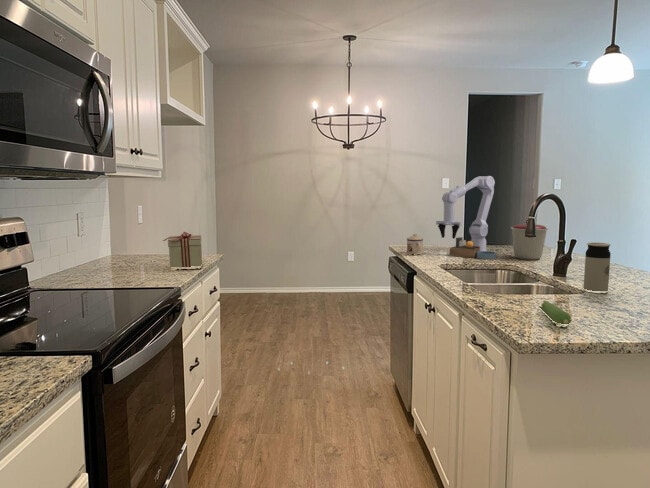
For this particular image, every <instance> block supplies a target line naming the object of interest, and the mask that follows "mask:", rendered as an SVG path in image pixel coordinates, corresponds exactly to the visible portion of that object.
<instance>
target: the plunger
mask: <svg viewBox="0 0 650 488" xmlns="http://www.w3.org/2000/svg"><path fill="white" fill-rule="evenodd" d="M466 243H467V240H466V239H463V237H461V236H458V237H455V246H456V247H457V248H459V246H461V247H466Z"/></svg>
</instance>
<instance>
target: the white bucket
mask: <svg viewBox="0 0 650 488" xmlns="http://www.w3.org/2000/svg"><path fill="white" fill-rule="evenodd" d="M527 221H528V219H526V220H525V223H521V224H515V225H512V226H511V227H510V229H511V230H512V231H511V233H512V234H511V235H512V246H513V254H514V257H516V258H517V259H519V260H524V261H525V260H527V261H530V260H531V261H533V260H535V261H536V260H540V259H541V258H542V256H543V252H544V247H545V242H546V237H547V231H548V230H549V228H548V227H546V226H545V225H542V224H535V227H536V237H535V238H528V237H525V229H526V225H527Z"/></svg>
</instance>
